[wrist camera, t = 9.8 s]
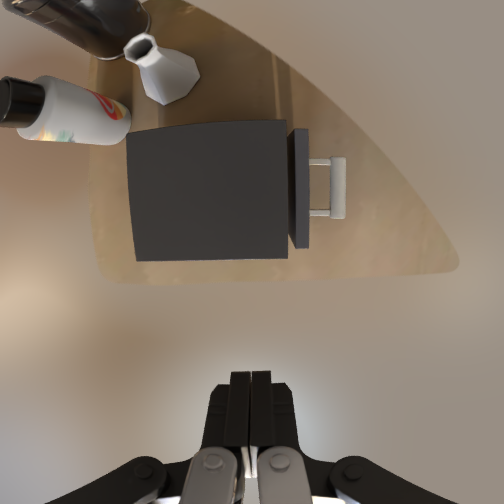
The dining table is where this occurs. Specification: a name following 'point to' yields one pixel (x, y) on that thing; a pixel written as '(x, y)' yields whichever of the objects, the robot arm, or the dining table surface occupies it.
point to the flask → (162, 69)
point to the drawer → (301, 190)
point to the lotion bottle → (61, 112)
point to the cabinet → (209, 191)
